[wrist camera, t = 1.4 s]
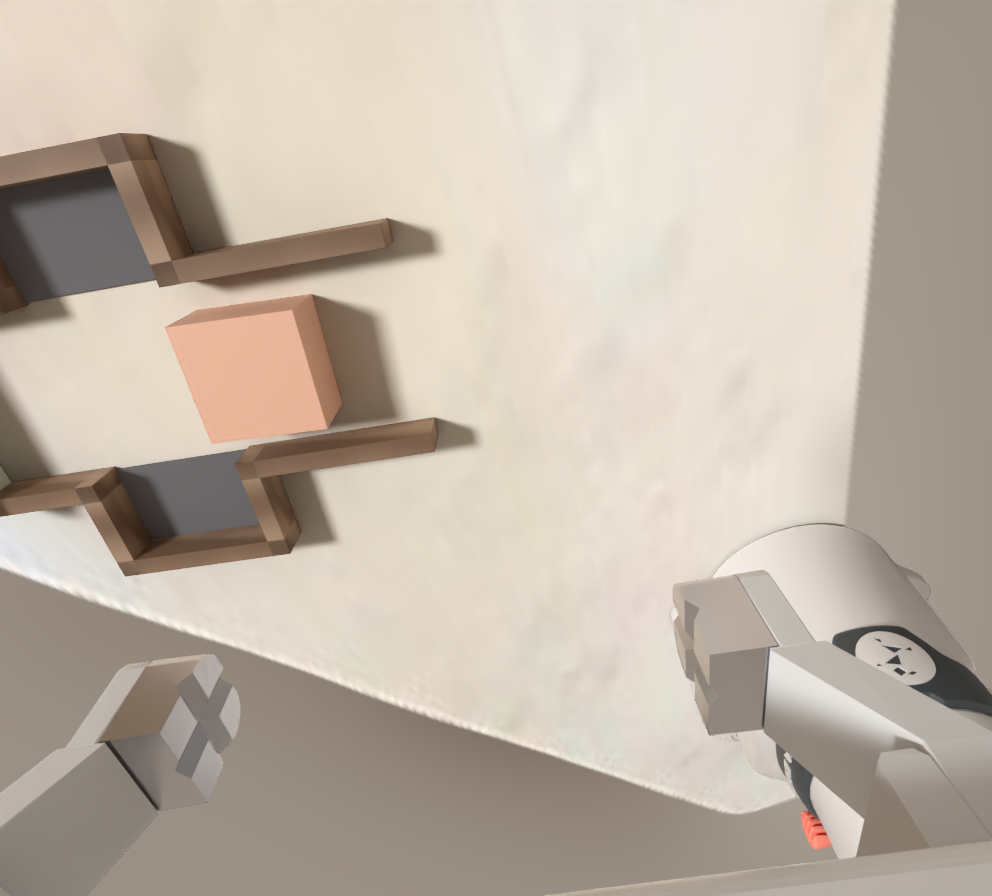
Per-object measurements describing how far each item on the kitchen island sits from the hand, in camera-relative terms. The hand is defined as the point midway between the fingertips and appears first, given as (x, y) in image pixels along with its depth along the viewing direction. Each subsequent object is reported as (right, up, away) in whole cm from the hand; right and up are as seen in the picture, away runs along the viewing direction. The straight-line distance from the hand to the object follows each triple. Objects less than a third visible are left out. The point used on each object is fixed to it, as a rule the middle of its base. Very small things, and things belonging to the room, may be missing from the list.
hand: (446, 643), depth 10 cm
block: (-13, +9, +26) cm, 30 cm away
